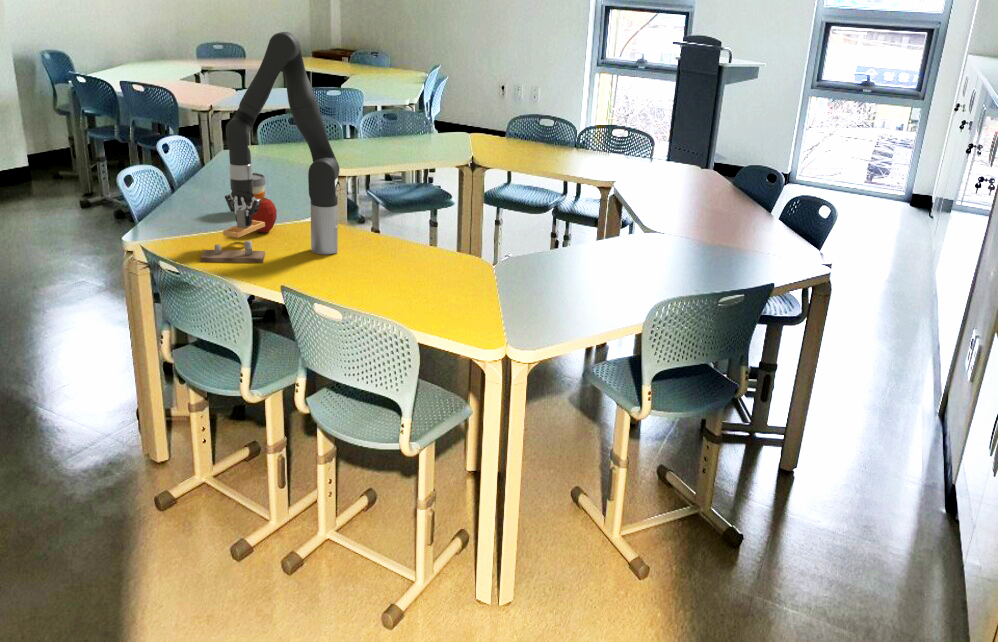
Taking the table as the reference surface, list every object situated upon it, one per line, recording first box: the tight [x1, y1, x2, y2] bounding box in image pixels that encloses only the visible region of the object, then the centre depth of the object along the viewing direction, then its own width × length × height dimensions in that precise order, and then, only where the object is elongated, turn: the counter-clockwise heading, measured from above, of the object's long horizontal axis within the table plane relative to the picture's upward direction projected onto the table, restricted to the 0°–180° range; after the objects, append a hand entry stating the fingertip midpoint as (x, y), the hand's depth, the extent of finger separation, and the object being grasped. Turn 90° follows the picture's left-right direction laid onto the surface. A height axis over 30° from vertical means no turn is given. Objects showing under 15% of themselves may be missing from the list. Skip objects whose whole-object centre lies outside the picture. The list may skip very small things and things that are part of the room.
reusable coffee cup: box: [242, 172, 267, 208], centre depth 335 cm, size 13×13×15 cm
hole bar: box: [222, 208, 265, 238], centre depth 298 cm, size 16×6×8 cm, turn 160°
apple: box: [252, 196, 277, 234], centre depth 315 cm, size 10×10×14 cm
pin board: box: [200, 240, 266, 264], centre depth 287 cm, size 20×8×6 cm, turn 100°
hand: (244, 224), depth 298 cm, fingers closed on hole bar, 3 cm apart
